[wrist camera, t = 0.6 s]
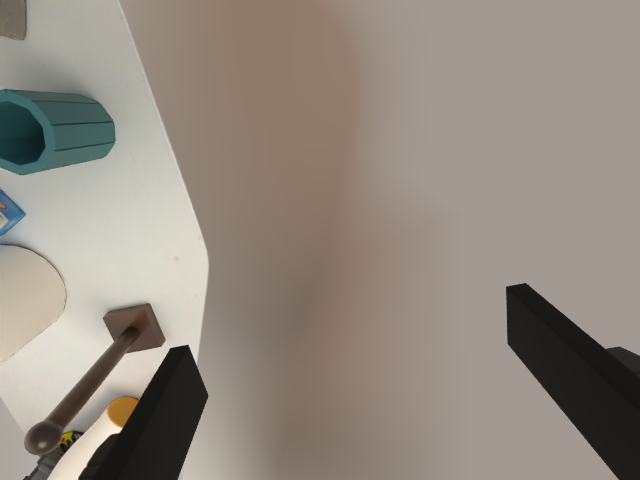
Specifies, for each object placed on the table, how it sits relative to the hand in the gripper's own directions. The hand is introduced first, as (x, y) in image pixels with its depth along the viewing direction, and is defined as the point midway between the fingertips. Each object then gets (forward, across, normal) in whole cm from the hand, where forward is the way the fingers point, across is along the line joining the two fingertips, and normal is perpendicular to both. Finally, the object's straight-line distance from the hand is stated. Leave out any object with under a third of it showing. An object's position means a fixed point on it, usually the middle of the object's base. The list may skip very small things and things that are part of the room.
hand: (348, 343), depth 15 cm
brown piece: (+30, -30, -14) cm, 45 cm away
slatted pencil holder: (+31, -26, +12) cm, 42 cm away
